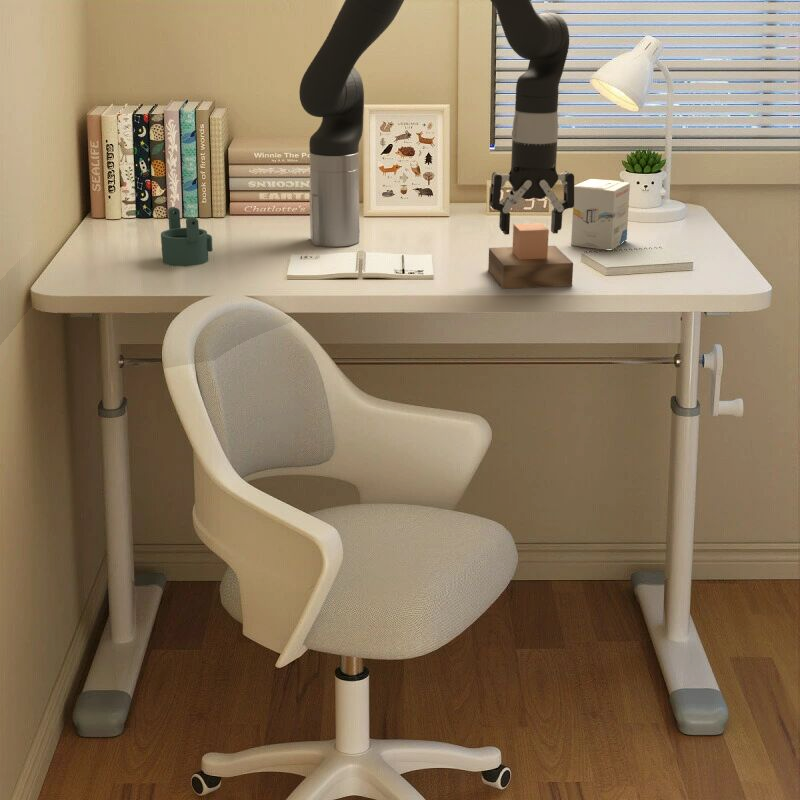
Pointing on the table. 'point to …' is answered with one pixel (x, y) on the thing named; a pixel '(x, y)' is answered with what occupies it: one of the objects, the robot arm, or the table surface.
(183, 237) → the bracket
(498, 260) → the walnut base
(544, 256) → the terracotta cube
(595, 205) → the ink box
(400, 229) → the table surface
